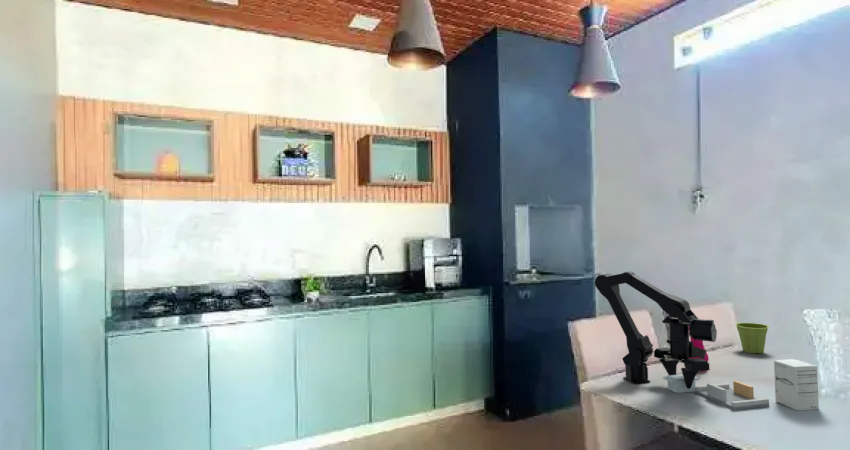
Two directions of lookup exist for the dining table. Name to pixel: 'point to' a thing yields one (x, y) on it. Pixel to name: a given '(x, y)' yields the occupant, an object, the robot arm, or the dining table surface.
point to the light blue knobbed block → (679, 383)
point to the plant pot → (752, 336)
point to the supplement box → (796, 384)
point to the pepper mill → (700, 345)
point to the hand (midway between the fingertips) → (681, 385)
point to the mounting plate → (732, 395)
